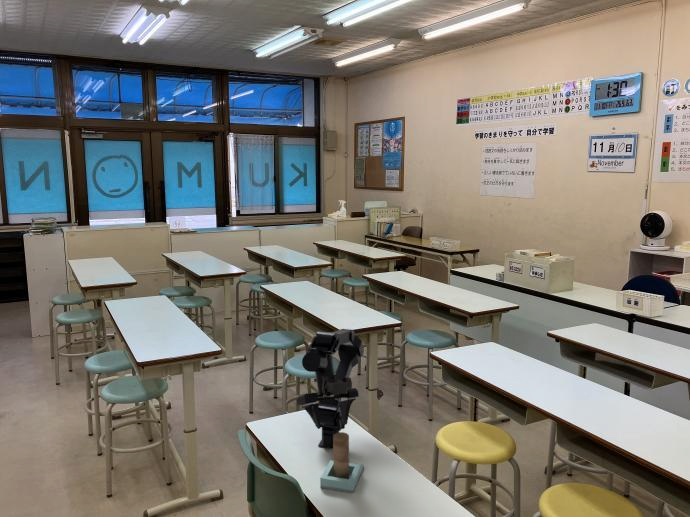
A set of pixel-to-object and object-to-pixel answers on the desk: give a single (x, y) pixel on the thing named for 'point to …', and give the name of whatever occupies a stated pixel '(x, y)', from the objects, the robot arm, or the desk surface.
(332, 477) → the light blue hollow frame
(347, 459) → the dowel peg
